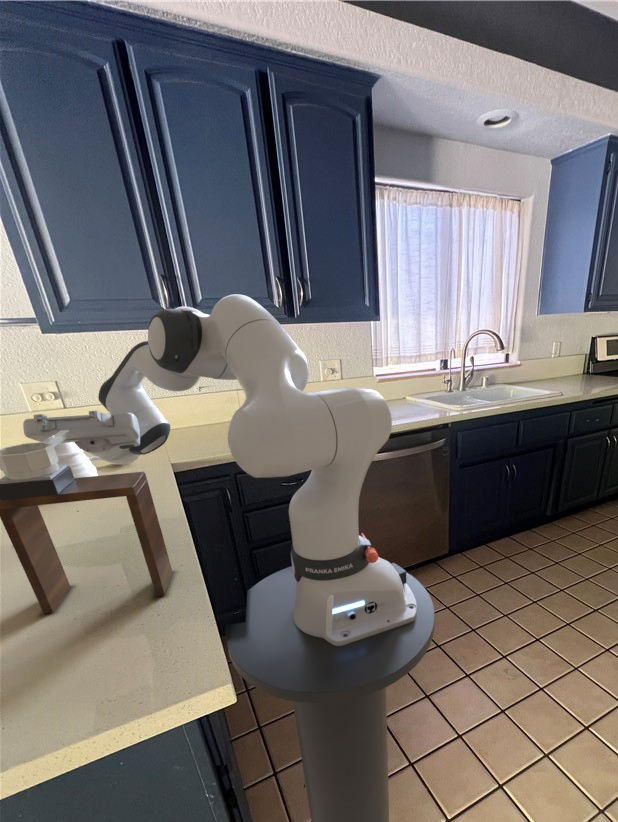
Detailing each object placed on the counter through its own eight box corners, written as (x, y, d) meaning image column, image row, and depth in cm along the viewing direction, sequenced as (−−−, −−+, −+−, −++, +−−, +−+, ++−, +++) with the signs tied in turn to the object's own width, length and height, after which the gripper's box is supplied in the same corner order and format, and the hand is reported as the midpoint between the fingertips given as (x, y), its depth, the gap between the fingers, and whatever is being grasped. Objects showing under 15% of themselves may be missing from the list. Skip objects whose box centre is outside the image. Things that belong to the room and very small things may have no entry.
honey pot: (57, 499, 123) (33, 439, 116) (47, 488, 132) (25, 431, 124) (106, 487, 132) (87, 429, 124) (94, 477, 140) (76, 423, 132)
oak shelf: (172, 572, 87) (144, 471, 78) (165, 595, 80) (133, 487, 71) (62, 588, 83) (18, 483, 73) (43, 614, 76) (-8, 501, 66)
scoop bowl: (90, 444, 84) (84, 424, 82) (48, 477, 67) (39, 452, 65) (50, 448, 82) (42, 427, 80) (-4, 482, 65) (-15, 457, 64)
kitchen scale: (75, 479, 75) (69, 463, 73) (58, 494, 68) (51, 477, 67) (22, 484, 73) (15, 467, 72) (0, 500, 67) (-8, 482, 65)
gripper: (43, 425, 94) (2, 404, 81) (144, 418, 98) (121, 397, 85) (46, 453, 94) (5, 436, 80) (147, 444, 98) (124, 428, 85)
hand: (65, 416), depth 83 cm, fingers open, 8 cm apart
